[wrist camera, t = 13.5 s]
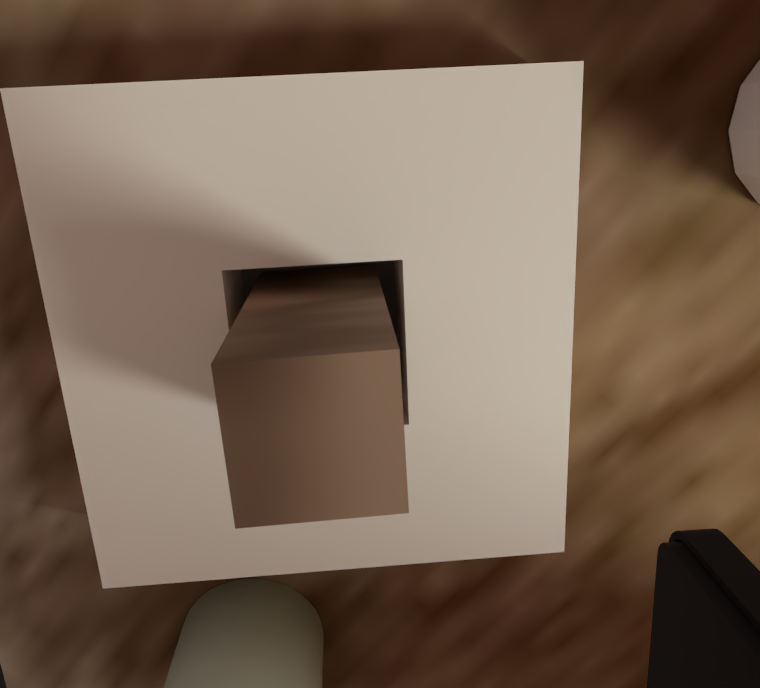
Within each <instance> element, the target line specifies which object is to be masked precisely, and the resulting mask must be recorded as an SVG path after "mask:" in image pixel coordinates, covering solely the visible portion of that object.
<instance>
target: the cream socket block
mask: <svg viewBox="0 0 760 688" xmlns="http://www.w3.org/2000/svg"><path fill="white" fill-rule="evenodd" d="M583 68H584V61H572V62H551V63H530V64H508V65H487V66H466V67H445V68H423V69H402V70H381V71H359V72H338V73H317V74H296V75H274V76H253V77H232V78H211V79H189V80H168V81H147V82H125V83H104V84H83V85H62V86H40V87H19V88H0V92H1V97H2V102H3V107H4V111H5V116H6V121H7V126H8V131H9V136H10V141H11V145H12V150H13V155H14V160H15V165H16V170H17V175H18V179H19V184H20V189H21V194H22V199H23V204H24V208H25V213H26V218H27V223H28V228H29V233H30V238H31V242H32V247H33V252H34V257H35V262H36V267H37V272H38V276H39V281H40V286H41V291H42V296H43V301H44V306H45V310H46V315H47V320H48V325H49V330H50V335H51V340H52V344H53V349H54V354H55V359H56V364H57V369H58V373H59V378H60V383H61V388H62V393H63V398H64V403H65V407H66V412H67V417H68V422H69V427H70V432H71V437H72V441H73V446H74V451H75V456H76V461H77V466H78V471H79V475H80V480H81V485H82V490H83V495H84V500H85V505H86V509H87V514H88V519H89V524H90V529H91V534H92V538H93V543H94V548H95V553H96V558H97V563H98V568H99V572H100V577H101V582H102V587H103V589H105V588H118V587H130V586H143V585H155V584H168V583H180V582H193V581H205V580H218V579H230V578H243V577H255V576H268V575H280V574H293V573H305V572H318V571H331V570H343V569H356V568H368V567H381V566H393V565H406V564H418V563H431V562H443V561H456V560H468V559H481V558H493V557H506V556H518V555H531V554H543V553H556V552H564V545H565V520H566V495H567V470H568V445H569V420H570V395H571V369H572V344H573V319H574V294H575V269H576V244H577V219H578V194H579V168H580V143H581V118H582V93H583ZM362 264H375V267H376V271H377V274H378V277H379V281H380V284H381V288H382V291H383V294H384V298H385V301H386V305H387V308H388V312H389V315H390V318H391V322H392V325H393V329H394V332H395V335H396V339H397V342H398V346H399V349H400V366H401V384H402V401H403V418H404V435H405V453H406V470H407V487H408V504H409V513H405V514H394V515H382V516H371V517H360V518H349V519H338V520H327V521H316V522H305V523H293V524H282V525H271V526H260V527H249V528H238V529H235V523H234V517H233V510H232V503H231V497H230V490H229V483H228V476H227V470H226V463H225V456H224V449H223V443H222V436H221V429H220V423H219V416H218V409H217V402H216V396H215V389H214V382H213V375H212V369H211V363H212V361H213V359H214V357H215V356H216V354H217V352H218V350H219V348H220V347H221V345H222V343H223V341H224V339H225V338H226V336H227V334H228V332H229V330H230V328H231V327H232V325H233V323H234V321H235V319H236V318H237V316H238V314H239V312H240V310H241V309H242V307H243V305H244V303H245V301H246V300H247V298H248V296H249V294H250V292H251V291H252V289H253V287H254V285H255V283H256V282H257V280H258V278H259V276H260V274H261V272H268V271H282V270H295V269H308V268H322V267H335V266H348V265H362Z"/></svg>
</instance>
